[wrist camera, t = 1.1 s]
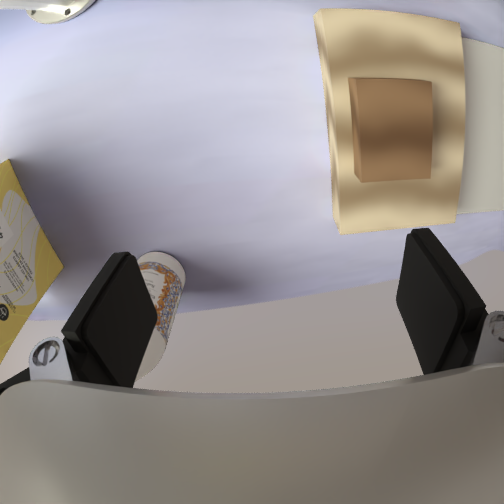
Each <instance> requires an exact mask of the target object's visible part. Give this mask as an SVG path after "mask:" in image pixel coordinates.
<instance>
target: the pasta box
mask: <svg viewBox="0 0 504 504" xmlns="http://www.w3.org/2000/svg"><path fill="white" fill-rule="evenodd" d="M63 268H64V266H63V265H62V263H61V262H60V260H59V258H58V256H57V255H56V253H55V251H54V250H53V248H52V246H51V244H50V243H49V241H48V239H47V237H46V235H45V234H44V232H43V230H42V228H41V226H40V224H39V222H38V221H37V219H36V217H35V215H34V213H33V211H32V209H31V207H30V205H29V203H28V201H27V199H26V197H25V194H24V192H23V190H22V188H21V186H20V184H19V181H18V179H17V177H16V175H15V172H14V170H13V168H12V165H11V163H10V160H9V159H8V160H6V161H5V162H3V163H1V164H0V364H1V362H2V360H3V358H4V357H5V355H6V353H7V352H8V350H9V348H10V346H11V345H12V343H13V341H14V340H15V338H16V336H17V335H18V333H19V332H20V330H21V328H22V327H23V325H24V324H25V322H26V321H27V319H28V317H29V316H30V314H31V313H32V311H33V310H34V308H35V307H36V305H37V304H38V302H39V301H40V300H41V298H42V297H43V295H44V294H45V292H46V291H47V290H48V288H49V287H50V285H51V284H52V283H53V281H54V280H55V279H56V277H57V276H58V274H59V273H60V272H61V270H62V269H63Z"/></svg>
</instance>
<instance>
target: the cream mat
mask: <svg viewBox="0 0 504 504" xmlns="http://www.w3.org/2000/svg"><path fill="white" fill-rule="evenodd" d="M461 38H462V47H463V58H464V73H465V140H464V156H463V167H462V177H461V186H460V193H459V201H458V207H457V214H465V213H477V212H489V211H501V210H504V48H501V47H498V46H494V45H491V44H487V43H484V42H480V41H476V40H472V39H468V38H463V37H461Z"/></svg>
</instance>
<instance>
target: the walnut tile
mask: <svg viewBox="0 0 504 504" xmlns="http://www.w3.org/2000/svg"><path fill="white" fill-rule="evenodd" d="M348 84H349V94H350V106H351V119H352V134H353V153H354V174H355V175H356V177H357V178H358V179H359V180H360V182H361V183H367V182H380V181H395V180H412V179H431V165H432V142H433V99H432V82H431V81H425V80H419V79H403V78H348Z"/></svg>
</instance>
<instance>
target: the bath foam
mask: <svg viewBox="0 0 504 504" xmlns="http://www.w3.org/2000/svg"><path fill="white" fill-rule="evenodd" d="M137 262H138V265H139V268H140V271H141V273H142V276H143V278H144V281H145V284H146V286H147V289H148V291H149V294H150V296H151V299H152V301H153V304H154V306H155V309H156V311H157V316H158V318H157V323H156V325H155V328H154V330H153V333H152V336H151V338H150V341H149V344H148V346H147V349H146V352H145V354H144V357H143V360H142V363H141V365H140V368H139V371H138V374H137V376H136V379H135V381H137V380H139V379H140V378H142V377H143V376H145V375H146V374H148V373H149V372H150V371H152V370H153V369H154V368H155V367H156V365H157V364H158V363H159V361H160V360H161V358H162V356H163V353H164V351H165V349H166V345H167V342H168V338H169V335H170V331H171V328H172V324H173V321H174V318H175V314H176V311H177V308H178V304H179V301H180V298H181V294H182V291H183V287H184V284H185V279H186V277H185V272H184V269H183V267H182V266H181V264H180V263H179V262H178V261H177V260H176V259H175V258H173V257H172V256H170V255H168V254H166V253H162V252H149V253H146V254H144V255H142V256H141V257H140V258H139V259H138V260H137Z"/></svg>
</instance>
